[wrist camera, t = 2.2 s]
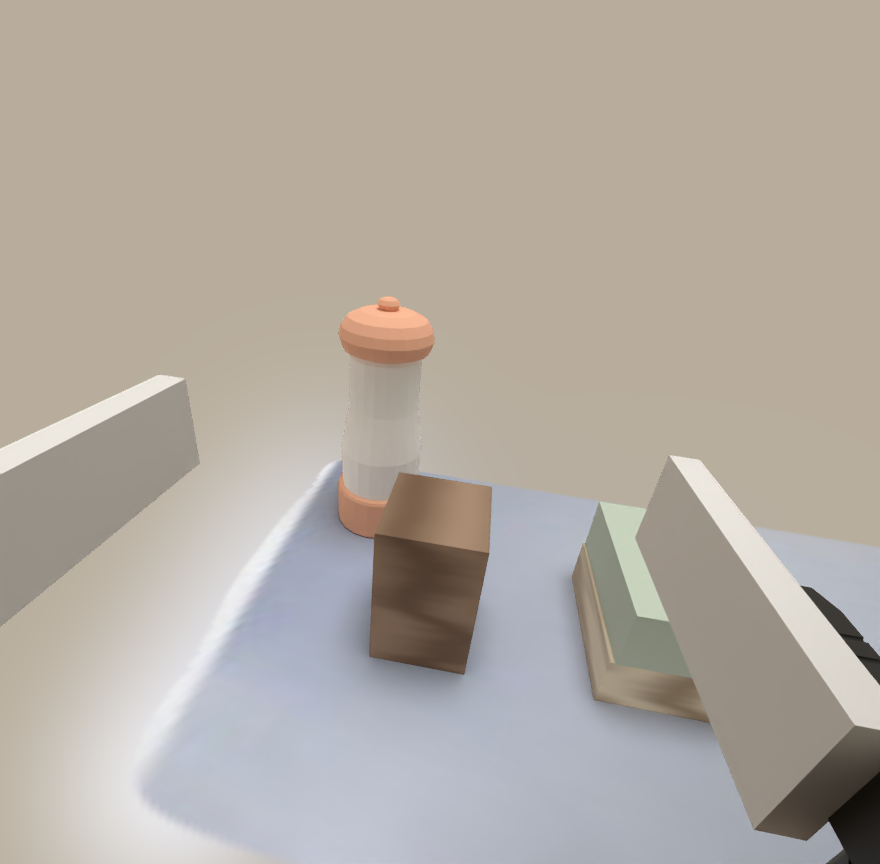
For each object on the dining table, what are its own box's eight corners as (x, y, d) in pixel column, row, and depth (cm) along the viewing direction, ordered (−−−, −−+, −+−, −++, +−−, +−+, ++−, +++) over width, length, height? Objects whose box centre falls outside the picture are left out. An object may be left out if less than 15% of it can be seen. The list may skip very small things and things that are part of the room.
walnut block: (470, 598, 32) (491, 486, 27) (464, 674, 27) (489, 553, 22) (391, 583, 32) (399, 472, 28) (369, 656, 27) (374, 533, 22)
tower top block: (719, 565, 33) (742, 524, 31) (799, 697, 24) (838, 651, 22) (585, 543, 33) (599, 501, 31) (614, 664, 24) (637, 616, 23)
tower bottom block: (697, 602, 34) (717, 565, 33) (762, 737, 26) (795, 697, 24) (570, 580, 35) (583, 543, 33) (591, 703, 26) (610, 662, 24)
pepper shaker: (432, 505, 41) (457, 300, 32) (390, 550, 35) (405, 315, 27) (370, 479, 44) (376, 283, 35) (321, 517, 38) (313, 294, 29)
